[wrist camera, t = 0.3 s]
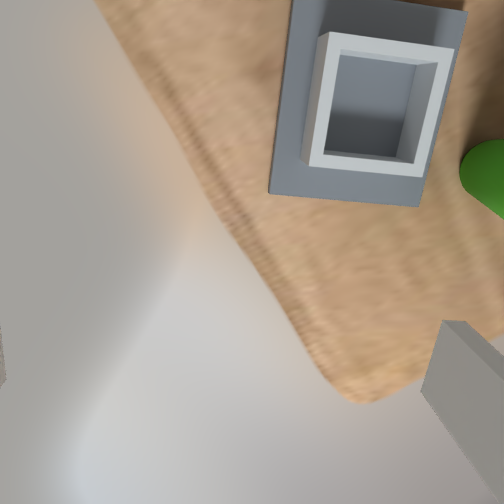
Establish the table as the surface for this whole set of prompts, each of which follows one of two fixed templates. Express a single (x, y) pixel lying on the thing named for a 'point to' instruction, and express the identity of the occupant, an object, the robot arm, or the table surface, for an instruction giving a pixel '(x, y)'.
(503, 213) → the cup
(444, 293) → the table surface
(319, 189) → the socket
